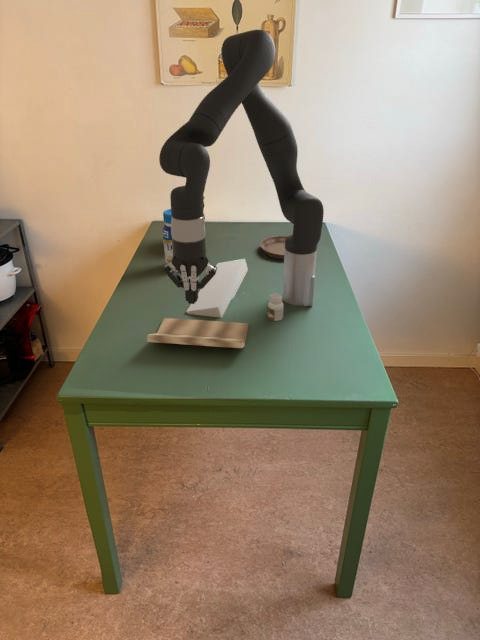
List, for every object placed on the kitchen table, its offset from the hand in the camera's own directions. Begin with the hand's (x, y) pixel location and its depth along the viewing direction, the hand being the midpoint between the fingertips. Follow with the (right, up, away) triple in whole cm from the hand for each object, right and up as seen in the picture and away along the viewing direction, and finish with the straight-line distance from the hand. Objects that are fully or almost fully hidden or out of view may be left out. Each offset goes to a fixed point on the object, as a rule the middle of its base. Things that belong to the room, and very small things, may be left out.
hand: (192, 302), depth 123 cm
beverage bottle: (-10, +14, +54) cm, 56 cm away
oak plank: (0, -11, +8) cm, 13 cm away
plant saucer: (+28, +21, +65) cm, 74 cm away
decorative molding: (+5, +4, +39) cm, 39 cm away
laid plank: (+2, -8, +17) cm, 19 cm away
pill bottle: (+22, -4, +23) cm, 32 cm away
